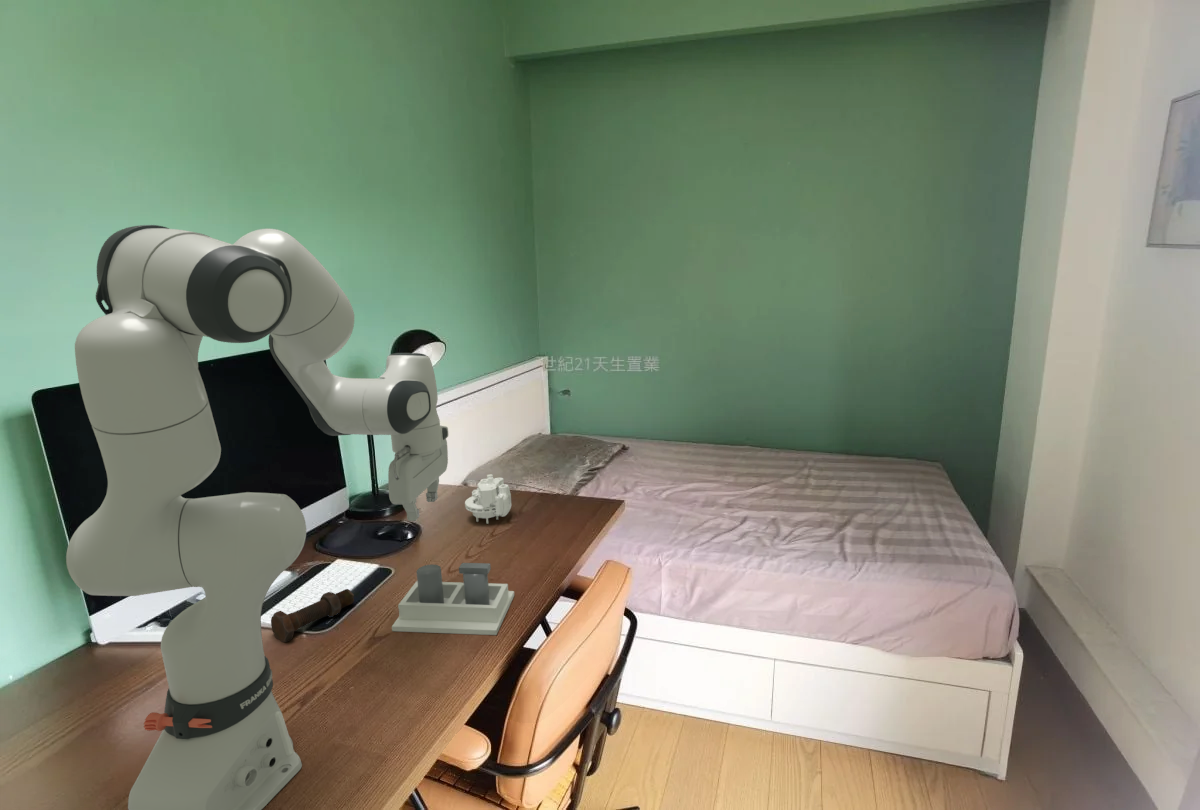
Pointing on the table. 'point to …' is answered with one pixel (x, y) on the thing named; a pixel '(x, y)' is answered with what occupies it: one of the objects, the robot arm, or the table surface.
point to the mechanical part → (490, 499)
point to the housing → (458, 606)
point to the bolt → (309, 614)
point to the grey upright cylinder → (430, 584)
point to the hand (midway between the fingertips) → (423, 509)
